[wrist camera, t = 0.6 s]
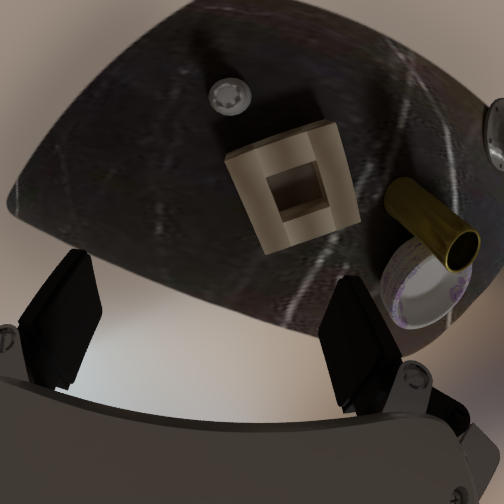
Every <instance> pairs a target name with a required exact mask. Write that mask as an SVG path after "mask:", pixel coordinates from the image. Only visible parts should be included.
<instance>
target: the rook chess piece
mask: <svg viewBox="0 0 504 504" xmlns="http://www.w3.org/2000/svg"><path fill="white" fill-rule="evenodd" d="M251 97H252V95H251V91H250V88H249V87H248V85H247V84H246V83H245V82H244V81H242V80H240V79H238V78H226V79H222V80H219V81H218V82H216V83H215V84H214V85H213V86H212V88H211V89H210V91H209V101H210V104H211V106H212V107H213V108H214V109H215V110H216V111H217V112H219V113H221V114H223V115H229V116H233V115H237V114H240V113H242V112H243V111H245V110H246V109H247V107H248V106H249V104H250V103H251Z"/></svg>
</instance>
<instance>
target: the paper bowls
mask: <svg viewBox="0 0 504 504" xmlns="http://www.w3.org/2000/svg"><path fill="white" fill-rule="evenodd" d="M471 273H472V263H471V265H470V266H469V267H468V268H466V269H465V270H463V271H461V272H459V273H451V272H448V271H447V270H446V269H445V267H444V266H443V265H442V264H441V263H440V262H439V260H438V259H437V258H436V257H435V256H434V255H433V254H432V253H431V252H430V251H429V250H428V249H427V248H426V247H425V246H424V245H423V244H422V243H421V242H420V241H419V240H418V239H417V238H416V237H413V238H412V239H410V240H408V241H406V242H405V243H404V244H402V245H401V246H400V247H399V248H398V249H397V250H396V251H395V253H394V254H393V256H392V257H391V259H390V261H389V263H388V264H387V266H386V268H385V270H384V272H383V275H382V278H381V281H380V295H381V298H382V301H383V303H384V305H385V307H386V309H387V310H388V312H389V314H390V316H391V318H392V319H393V321H394V322H395V323H396V324H397V325H398V326H400V327H402V328H405V329H418V328H422V327H425V326H427V325H430V324H432V323H434V322H436V321H437V320H439V319H440V318H441V317H443V316H444V315H445V314H447V313H448V312H449V311H450V310H451V309H452V308H453V307H454V306H455V305H456V303H457V302H458V301H459V300H460V298H461V297H462V295H463V293H464V292H465V290H466V288H467V286H468V283H469V281H470V278H471Z"/></svg>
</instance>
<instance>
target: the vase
mask: <svg viewBox="0 0 504 504" xmlns="http://www.w3.org/2000/svg"><path fill="white" fill-rule="evenodd" d="M384 206H385V209H386V211H387V212H388V214H389V215H390V216H392V217H394V218H395V219H396V220H397V221H399V222H400V223H401V224H402V225H403V226H404V227H405V228H406V229H407V230H408V231H409V232H410V233H411V234H412V235H414V236H415V237H416V238H417V239H418V240H419V241H420V242H421V243H422V244H423V245H424V246H425V247H426V248H427V249H428V250H429V251H430V252H431V253H432V254H433V255H434V256H435V257H436V258H437V259H438V260H439V262H440V263H441V264H442V265H443V266H444V267H445V269H446V270H447V271H448V272H451V273H459V272H461V271H463V270H465V269H466V268H468V267H469V266H470V265H471V263H472V262H473V261H474V259H475V258H476V256H477V254H478V251H479V249H480V244H481V239H480V235H479V233H478V231H477V230H476V229H474V228H473V227H472V226H471V225H469V224H468V223H467V222H465V221H464V220H463V219H462V218H460V217H459V216H458V215H456V214H455V213H454V212H453V211H451V210H450V209H449V208H448V207H447V206H445V205H444V204H443V203H442V202H440V201H439V200H438V199H437V198H435V197H434V196H433V195H432V194H430V193H429V192H428V191H426V190H425V189H424V188H422V187H421V186H419V185H418V183H417V182H416V181H415V180H413V179H412V178H410V177H400V178H398V179H396V180H394V181H393V182H392V183H391V184H390V185H389V186H388V188H387V190H386V193H385V196H384Z"/></svg>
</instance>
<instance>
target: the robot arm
mask: <svg viewBox="0 0 504 504" xmlns="http://www.w3.org/2000/svg"><path fill="white" fill-rule="evenodd" d="M484 143H485V149H486V152H487V156H488V158H489V160H490V162H491V163H492V165H493V166H494V167H495V168H497V169H499V170H500V171H503V172H504V98H499V99H497V100H495V101H494V102H493V103H492V104H491V106H490V107H489V109H488V111H487V114H486V118H485V123H484ZM101 316H102V306H101V302H100V298H99V294H98V289H97V285H96V280H95V275H94V271H93V266H92V260H91V256H90V255H89V254H87V252H86V251H85V250H80V249H71V250H70V251H69V252H68V253H67V255H66V256H65V257H64V258H63V260H62V261H61V262H60V263H59V265H58V266H57V267H56V268H55V270H54V271H53V272H52V274H51V275H50V276H49V277H48V279H47V280H46V281H45V283H44V284H43V285H42V287H41V288H40V290H39V291H38V292H37V294H36V295H35V297H34V298H33V299H32V301H31V302H30V304H29V305H28V307H27V308H26V310H25V311H24V313H23V314H22V316H21V317H20V319H19V320H18V322H19V326H18V328H16V327H15V326H13V325H11V324H4V325H1V326H0V504H479V500H480V498H481V497H482V495H483V493H484V491H485V489H486V488H487V486H488V484H489V482H490V480H491V478H492V476H493V474H494V472H495V470H496V468H497V466H498V464H499V461H500V453H499V449H498V448H497V446H496V445H495V444H494V443H493V442H492V441H491V440H490V439H489V438H488V437H487V436H486V435H485V434H484V433H483V432H482V431H481V430H480V429H479V428H478V427H477V426H476V425H475V424H474V423H472V424H471V425H470V415H469V412H468V410H467V409H466V407H465V406H464V405H462V404H461V403H459V402H457V401H456V400H454V399H452V398H451V397H449V396H447V395H446V394H444V393H442V392H440V391H439V390H437V389H435V388H434V387H432V383H433V379H432V376H431V373H430V372H429V370H428V369H427V368H426V367H425V366H424V365H422V364H421V363H419V362H417V361H412V360H409V361H405V362H402V359H401V357H402V354H401V352H400V350H399V348H398V346H397V344H396V342H395V340H394V338H393V336H392V334H391V332H390V330H389V329H388V327H387V325H386V323H385V321H384V319H383V317H382V315H381V313H380V312H379V310H378V308H377V306H376V304H375V302H374V301H373V299H372V297H371V295H370V293H369V292H368V290H367V288H366V286H365V285H364V283H363V281H362V279H361V278H360V277H359V276H350V275H345V276H344V277H343V278H342V279H339V280H338V283H337V285H336V288H335V290H334V293H333V295H332V298H331V300H330V303H329V305H328V308H327V310H326V313H325V315H324V317H323V320H322V322H321V325H320V327H319V331H318V336H319V340H320V343H321V346H322V350H323V354H324V357H325V361H326V364H327V368H328V371H329V374H330V378H331V382H332V386H333V389H334V393H335V397H336V400H337V404H338V406H340V407H342V410H343V413H352V412H356V414H357V416H356V417H349V418H339V419H329V420H319V421H306V422H287V423H233V422H214V421H201V420H190V419H181V418H173V417H165V416H158V415H153V414H146V413H141V412H135V411H130V410H125V409H120V408H116V407H111V406H107V405H103V404H99V403H95V402H92V401H88V400H84V399H81V398H77V397H74V396H70V395H67V394H64V393H60V392H57V391H54V390H55V387H59V388H62V389H65V390H68V389H69V386H70V384H73V383H74V381H75V379H76V376H77V373H78V371H79V368H80V366H81V363H82V360H83V358H84V356H85V353H86V351H87V348H88V346H89V343H90V341H91V339H92V336H93V334H94V332H95V330H96V327H97V325H98V323H99V321H100V319H101Z"/></svg>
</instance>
